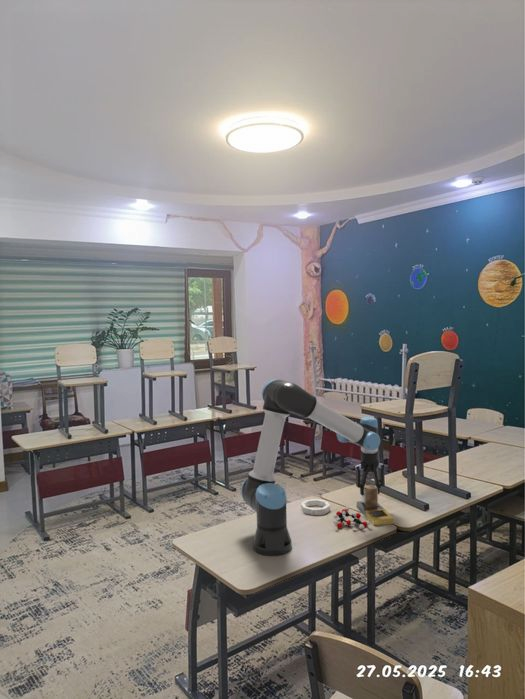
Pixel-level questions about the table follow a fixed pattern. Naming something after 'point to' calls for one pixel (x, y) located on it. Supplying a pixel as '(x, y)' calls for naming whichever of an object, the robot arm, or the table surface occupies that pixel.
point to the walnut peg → (370, 496)
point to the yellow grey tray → (376, 514)
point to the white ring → (317, 510)
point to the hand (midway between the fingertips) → (370, 501)
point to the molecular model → (348, 522)
